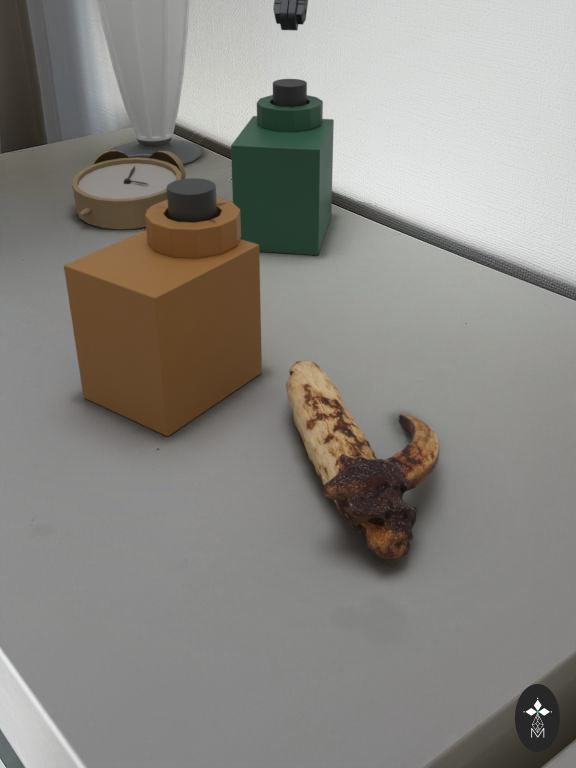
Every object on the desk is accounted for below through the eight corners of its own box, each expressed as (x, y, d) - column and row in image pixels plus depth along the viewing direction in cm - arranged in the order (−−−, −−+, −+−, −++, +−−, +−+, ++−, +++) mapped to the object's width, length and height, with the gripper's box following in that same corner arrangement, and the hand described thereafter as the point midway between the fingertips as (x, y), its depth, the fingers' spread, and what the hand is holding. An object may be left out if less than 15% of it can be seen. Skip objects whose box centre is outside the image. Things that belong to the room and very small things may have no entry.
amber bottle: (189, 336, 68) (179, 187, 62) (271, 367, 64) (268, 211, 58) (83, 397, 60) (58, 235, 54) (167, 437, 56) (152, 266, 50)
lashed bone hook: (500, 557, 47) (386, 382, 62) (515, 490, 45) (393, 324, 59) (336, 584, 45) (258, 396, 60) (343, 515, 43) (260, 337, 57)
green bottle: (257, 209, 92) (254, 92, 85) (332, 213, 90) (335, 95, 84) (234, 250, 82) (229, 122, 76) (318, 255, 81) (320, 126, 75)
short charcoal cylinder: (276, 101, 84) (275, 78, 83) (308, 102, 83) (309, 79, 82) (270, 109, 81) (269, 85, 80) (304, 110, 81) (304, 87, 80)
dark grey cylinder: (191, 205, 60) (189, 174, 58) (227, 215, 58) (225, 184, 57) (158, 219, 57) (156, 187, 56) (195, 230, 56) (193, 197, 55)
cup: (170, 136, 115) (157, -46, 103) (220, 157, 107) (212, -37, 96) (91, 152, 109) (68, -39, 97) (138, 175, 101) (119, -29, 90)
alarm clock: (57, 201, 85) (93, 132, 96) (66, 244, 88) (100, 172, 100) (171, 204, 84) (193, 133, 96) (176, 247, 88) (197, 174, 99)
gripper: (234, -169, 80) (208, -5, 76) (379, -169, 78) (360, -1, 74) (247, -105, 87) (224, 47, 83) (380, -104, 85) (362, 52, 81)
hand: (288, 24), depth 79 cm, fingers closed
